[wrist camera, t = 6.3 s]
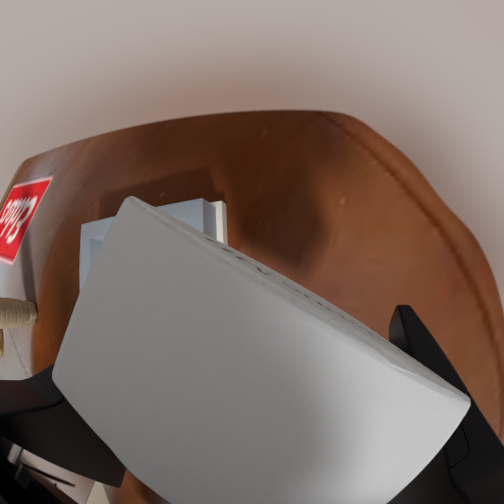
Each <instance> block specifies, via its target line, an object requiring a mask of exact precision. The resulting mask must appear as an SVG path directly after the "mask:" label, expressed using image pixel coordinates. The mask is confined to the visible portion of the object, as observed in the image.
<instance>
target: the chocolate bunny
mask: <svg viewBox="0 0 504 504" xmlns="http://www.w3.org/2000/svg"><path fill="white" fill-rule="evenodd" d="M3 347H4V346H3V332H2V329H0V357H2V354H3Z"/></svg>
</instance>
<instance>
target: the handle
mask: <svg viewBox="0 0 504 504" xmlns="http://www.w3.org/2000/svg"><path fill="white" fill-rule="evenodd" d="M36 318H37V311H36V308H35V304H34V303H32V302H28V301H22V300H18V299H11V298H0V329H2V328H3V329H6V328H17V327H22V326H25V325H27V324H29V325H33V324H35V323H36Z"/></svg>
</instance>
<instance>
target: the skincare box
mask: <svg viewBox="0 0 504 504" xmlns="http://www.w3.org/2000/svg"><path fill="white" fill-rule="evenodd" d="M52 379H53V381H54V383H55V384H56V386H57V387H58V389H59V390H60V391H61V392H62V394H63V395H64V396H65V398H66V399H67V400H68V401H69V403H70V404H71V405H72V406H73V408H74V409H75V410H76V411H77V412H78V413H79V415H80V416H81V417H82V418H83V419H84V421H85V422H86V423H87V424H88V425H89V426H90V427H91V428H92V430H93V431H94V432H95V433H96V434H97V435H98V436H99V437H100V438H101V439H102V440H103V441H104V442H105V443H106V444H107V445H108V446H109V447H110V449H111V450H112V451H113V452H114V454H115V455H116V456H117V457H118V459H119V460H120V461H121V462H122V463H123V465H124V466H125V467H126V468H127V469H128V470H129V471H130V472H131V473H132V474H133V475H134V476H135V477H136V478H138V479H139V480H140V481H141V482H143V483H144V484H145V485H147V486H148V487H149V488H151V489H152V490H153V491H154V492H156V493H157V494H158V495H160V496H161V497H163V498H164V499H165V500H167V501H168V502H169V503H171V504H387V503H388V502H389V501H390V500H392V499H393V498H394V497H395V496H396V495H397V494H398V493H399V492H400V491H401V490H403V489H404V488H405V487H406V486H407V485H408V484H409V483H410V482H411V481H412V480H413V479H414V478H415V477H416V476H417V475H418V474H419V473H420V472H421V471H422V470H423V469H424V468H425V467H426V466H427V465H428V463H429V462H430V461H431V460H432V459H433V458H434V457H435V455H436V454H437V453H438V452H439V451H440V449H441V448H442V447H443V446H444V444H445V443H446V442H447V440H448V439H449V438H450V436H451V435H452V434H453V432H454V431H455V429H456V428H457V427H458V425H459V424H460V422H461V421H462V419H463V417H464V416H465V414H466V413H467V411H468V409H469V407H470V405H471V403H470V398H469V397H468V396H467V395H466V394H464V393H463V392H461V391H460V390H458V389H457V388H455V387H454V386H452V385H451V384H449V383H448V382H446V381H445V380H444V379H442V378H441V377H440V376H438V375H437V374H435V373H434V372H433V371H431V370H430V369H428V368H427V367H425V366H424V365H422V364H421V363H419V362H418V361H417V360H415V359H414V358H412V357H411V356H409V355H408V354H406V353H405V352H403V351H402V350H400V349H399V348H398V347H396V346H395V345H393V344H392V343H390V342H389V341H387V340H386V339H384V338H383V337H382V336H380V335H379V334H377V333H376V332H374V331H373V330H371V329H370V328H369V327H367V326H366V325H364V324H363V323H361V322H359V321H358V320H356V319H355V318H353V317H352V316H350V315H349V314H347V313H346V312H344V311H342V310H341V309H339V308H337V307H336V306H334V305H333V304H331V303H329V302H328V301H326V300H325V299H323V298H321V297H319V296H318V295H316V294H314V293H313V292H311V291H309V290H308V289H306V288H304V287H302V286H301V285H299V284H297V283H295V282H294V281H292V280H290V279H288V278H287V277H285V276H283V275H281V274H280V273H278V272H276V271H274V270H272V269H271V268H269V267H267V266H265V265H263V264H261V263H259V262H257V261H256V260H254V259H252V258H250V257H248V256H246V255H245V254H243V253H241V252H239V251H237V250H235V249H233V248H231V247H229V246H227V245H226V244H224V243H222V242H220V241H218V240H216V239H214V238H212V237H210V236H209V235H207V234H205V233H203V232H201V231H199V230H197V229H195V228H194V227H192V226H190V225H188V224H186V223H184V222H182V221H180V220H178V219H176V218H174V217H173V216H171V215H169V214H167V213H165V212H163V211H161V210H159V209H157V208H155V207H153V206H151V205H149V204H147V203H146V202H144V201H142V200H140V199H138V198H136V197H134V196H129V197H127V198H126V199H125V200H124V201H123V203H122V205H121V207H120V209H119V211H118V213H117V215H116V217H115V219H114V220H113V222H112V224H111V226H110V228H109V230H108V232H107V234H106V236H105V238H104V240H103V242H102V244H101V246H100V248H99V250H98V252H97V254H96V257H95V259H94V261H93V263H92V266H91V268H90V270H89V273H88V275H87V277H86V280H85V282H84V284H83V287H82V289H81V292H80V294H79V297H78V299H77V302H76V304H75V307H74V310H73V312H72V315H71V318H70V321H69V324H68V327H67V330H66V332H65V335H64V338H63V341H62V344H61V347H60V350H59V353H58V356H57V359H56V362H55V365H54V368H53V372H52Z"/></svg>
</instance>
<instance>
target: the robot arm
mask: <svg viewBox="0 0 504 504" xmlns="http://www.w3.org/2000/svg"><path fill="white" fill-rule="evenodd" d="M389 342H390V343H392V344H393V345H395V346H396V347H398V348H399V349H400V350H402V351H403V352H405V353H406V354H408V355H409V356H411V357H412V358H414V359H415V360H417V361H418V362H419V363H421V364H422V365H424V366H425V367H427V368H428V369H430V370H431V371H433V372H434V373H435V374H437V375H438V376H440V377H441V378H442V379H444V380H445V381H446V382H448V383H449V384H451V385H452V386H454V387H455V388H457V389H458V390H460V391H461V392H463V393H464V394H466V395H467V396H468V397H469V398H470V403H471V405H470V407H469V409H468V411H467V413H466V414H465V416H464V417H463V419H462V421H461V422H460V424H459V425H458V427H457V428H456V429H455V431H454V432H453V434H452V435H451V436H450V438H449V439H448V440H447V442H446V443H445V444H444V446H443V447H442V448H441V449H440V451H439V452H438V453H437V454H436V455H435V457H434V458H433V459H432V460H431V461H430V462H429V463H428V465H427V466H426V467H425V468H424V469H423V470H422V471H421V472H420V473H419V474H418V475H417V476H416V477H415V478H414V479H413V480H412V481H411V482H410V483H409V484H408V485H407V486H406V487H405V488H404V489H403V490H401V491H400V492H399V493H398V494H397V495H396V496H395V497H394V498H393V499H392V500H390V501H389V502H388V503H387V504H504V445H503V444H502V442H501V441H500V439H499V438H498V436H497V435H496V433H495V432H494V430H493V429H492V427H491V426H490V424H489V423H488V421H487V420H486V418H485V417H484V415H483V414H482V412H481V411H480V409H479V407H478V406H477V404H476V402H475V401H474V399H473V397H472V396H471V394H470V392H469V391H467V388H466V386H465V384H464V383H463V381H462V379H461V378H460V376H459V375H458V373H457V372H456V370H455V368H454V367H453V365H452V364H451V362H450V361H449V359H448V358H447V356H446V355H445V353H444V352H443V350H442V349H441V347H440V346H439V345H438V343H437V342H436V340H435V339H434V337H433V336H432V335H431V333H430V332H429V330H428V329H427V328H426V326H425V325H424V324H423V322H422V321H421V320H420V318H419V317H418V316H417V314H416V313H415V312H414V310H413V309H412V308H411V306H409V305H397V306H396V308H395V310H394V313H393V316H392V319H391V321H390V326H389ZM54 365H55V363H54V364H52V365H50V366H49V367H47V368H46V369H44V370H42V371H41V372H39V373H37V374H36V375H34V376H32V377H30V378H28V379H24V380H0V504H86V502H87V499H88V497H89V494H90V492H91V489H92V487H93V485H94V483H95V481H98V482H101V483H104V484H107V485H110V486H114V487H117V488H120V487H121V484H122V481H123V478H124V475H125V472H126V469H127V468H126V467H125V466H124V465H123V463H122V462H121V461H120V460H119V459H118V457H117V456H116V455H115V454H114V452H113V451H112V450H111V449H110V447H109V446H108V445H107V444H106V443H105V442H104V441H103V440H102V439H101V438H100V437H99V436H98V435H97V434H96V433H95V432H94V431H93V430H92V428H91V427H90V426H89V425H88V424H87V423H86V422H85V421H84V419H83V418H82V417H81V416H80V415H79V413H78V412H77V411H76V410H75V409H74V408H73V406H72V405H71V404H70V403H69V401H68V400H67V399H66V398H65V396H64V395H63V394H62V392H61V391H60V390H59V389H58V387H57V386H56V384H55V383H54V381H53V379H52V372H53V368H54Z"/></svg>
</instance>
